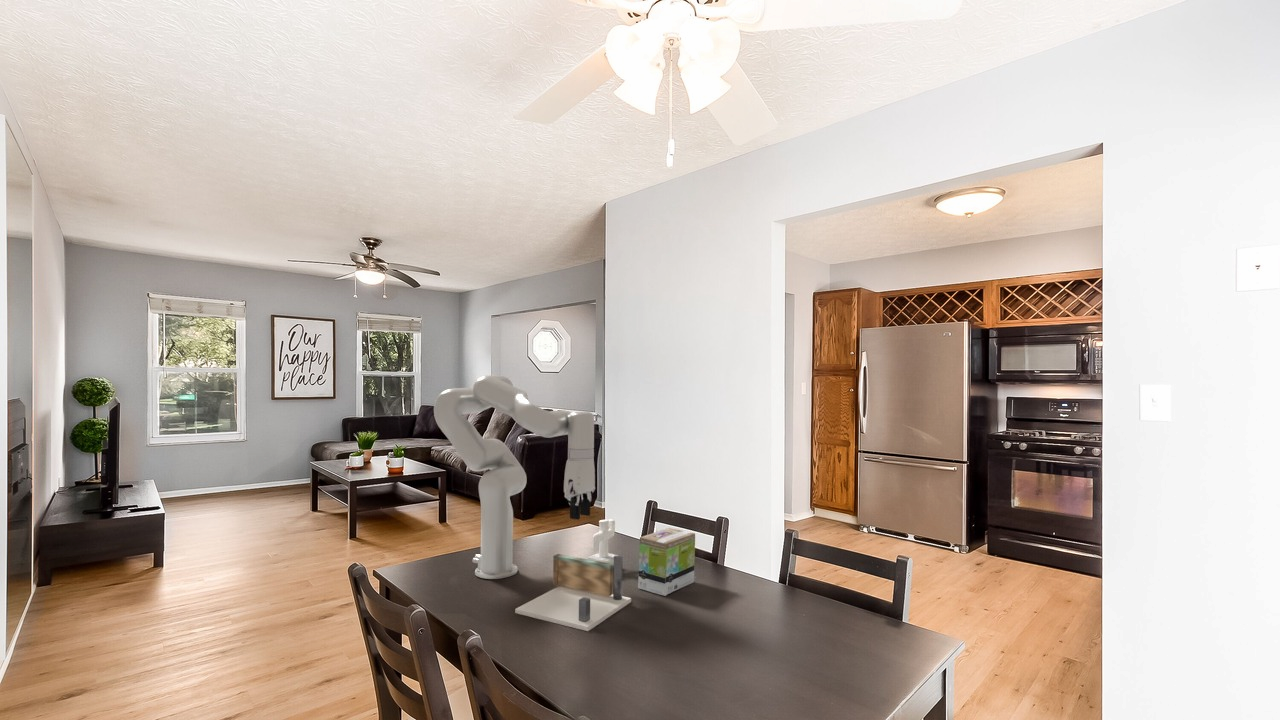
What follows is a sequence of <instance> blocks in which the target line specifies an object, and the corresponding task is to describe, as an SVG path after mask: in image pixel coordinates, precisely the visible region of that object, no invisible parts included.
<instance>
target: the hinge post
mask: <svg viewBox="0 0 1280 720" xmlns="http://www.w3.org/2000/svg"><path fill="white" fill-rule="evenodd" d="M622 596H623V556H622V555H619V556H614V563H613V599H614V600H621V599H622ZM588 620H590V598H585V597H583V598H581V599H579V621H582V622H587V621H588Z"/></svg>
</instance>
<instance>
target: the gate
mask: <svg viewBox="0 0 1280 720" xmlns="http://www.w3.org/2000/svg"><path fill="white" fill-rule="evenodd" d="M552 562H553V569H552V572H553V573H552V584H553V585H554V586H560V585H561V586H565V587H570V588H575V589H579V590H584V591H588V592H593V593H598V594H602V595H607V596H611V595H612V594H613V564H610V563H605V562H599V561H594V560H589V559H588V558H582V557H578V556H577V557H576V556H572V555H567V554H560V553H556V554H554V555H553V560H552Z"/></svg>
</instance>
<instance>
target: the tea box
mask: <svg viewBox="0 0 1280 720" xmlns="http://www.w3.org/2000/svg"><path fill="white" fill-rule="evenodd" d="M638 550H639V552H638V553H639V554H638V575H637V576H638V579H637V581H638V582H637V588H638V589H640V590H643V591H646V592H649V593H653V594H656V595H660V596H665V597H666V596H667V595H669V594H671V593H674V592H675V591H677V590H679V589H682V588H684V587H686V586H689V585H691V584H693V583H694V582H695V565H696V564H695V561H696V560H695V558H696V555H695V554H696V552H695V551H696V533H694V532H690V531H686V530H685V531H684V530H682V529H681V530H680V529H677V528H671V527H668V528H665V529H661V530H658V531H655V532H652V533H648V534H645V535H642V536H640V537H639V549H638Z"/></svg>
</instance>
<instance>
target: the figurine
mask: <svg viewBox="0 0 1280 720" xmlns="http://www.w3.org/2000/svg"><path fill="white" fill-rule="evenodd" d="M598 525H599V527H598V528H599V531H598V532H596V533H594V534H593V536H592V551H593V552H596V553H595V554H592V555H590V556H587V559H588V560H594V561H599V562H605V563H610V564H613V563H614V556H620V555H619V554H613V553H609V539H612V538H613V537H614V536H615V532H616V530H615V528H616V521H615V519H601V520H599V521H598Z"/></svg>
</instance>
